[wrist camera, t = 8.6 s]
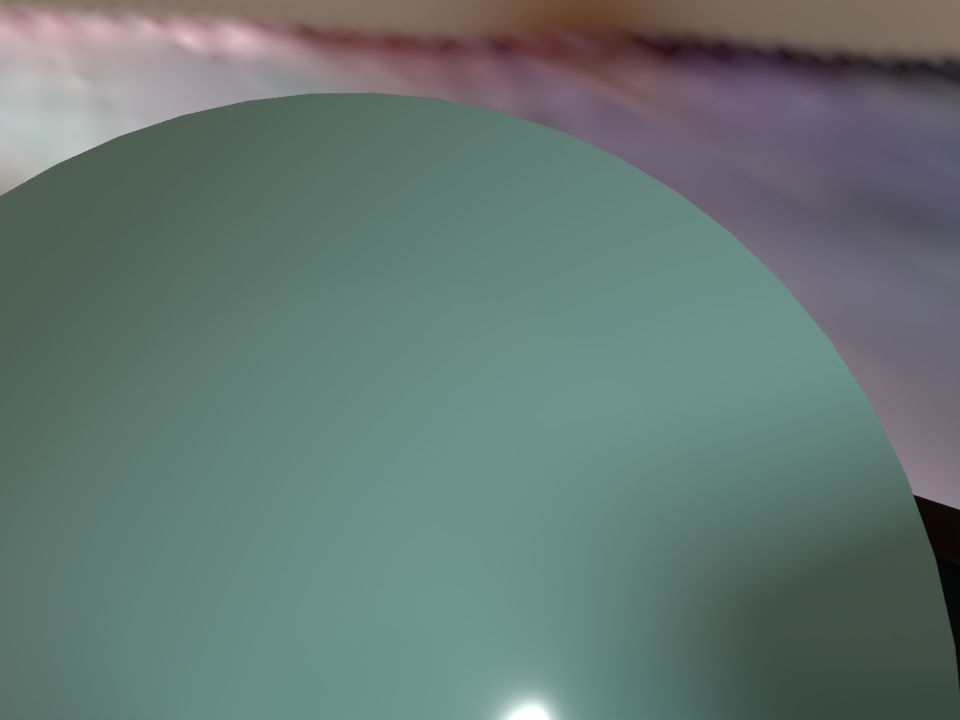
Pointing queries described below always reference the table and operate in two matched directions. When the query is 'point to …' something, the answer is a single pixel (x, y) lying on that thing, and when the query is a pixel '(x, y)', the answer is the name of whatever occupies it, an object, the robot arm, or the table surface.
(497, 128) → the green rounded cylinder
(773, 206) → the table surface
